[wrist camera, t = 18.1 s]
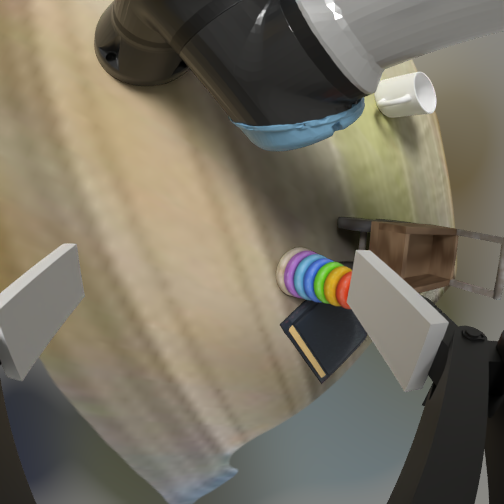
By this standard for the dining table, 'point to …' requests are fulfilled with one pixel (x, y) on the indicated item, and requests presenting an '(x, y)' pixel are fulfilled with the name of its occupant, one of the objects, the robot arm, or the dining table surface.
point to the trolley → (420, 252)
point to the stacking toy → (313, 277)
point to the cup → (406, 95)
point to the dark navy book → (324, 335)
